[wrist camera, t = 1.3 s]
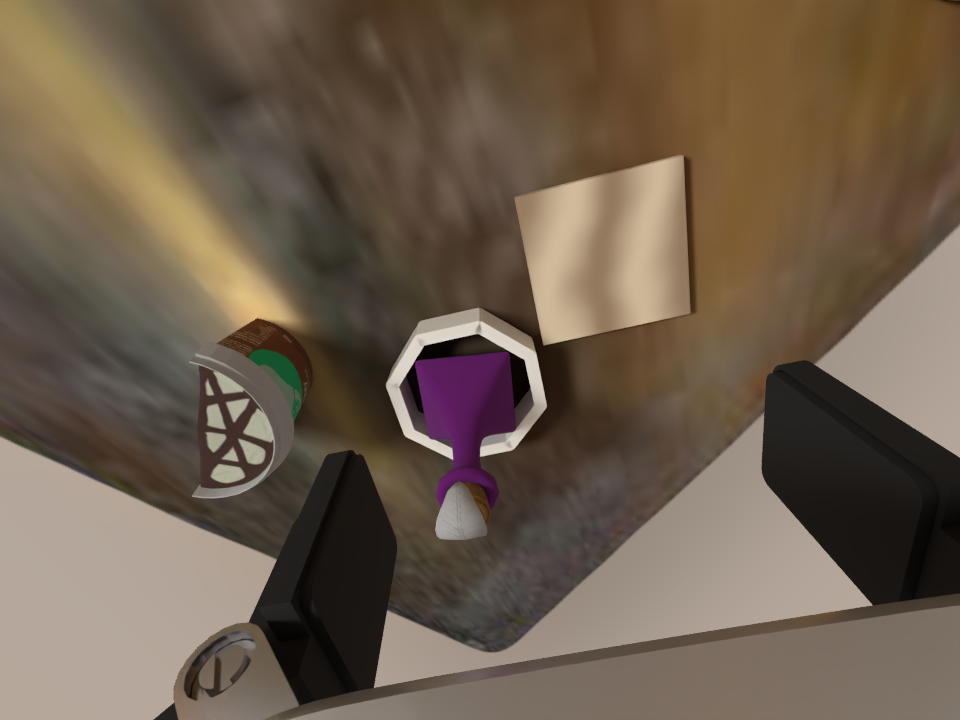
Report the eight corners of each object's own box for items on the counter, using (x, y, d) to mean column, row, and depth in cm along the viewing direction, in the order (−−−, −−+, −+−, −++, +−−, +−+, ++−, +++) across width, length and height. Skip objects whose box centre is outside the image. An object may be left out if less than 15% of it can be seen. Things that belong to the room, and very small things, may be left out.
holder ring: (523, 297, 38) (527, 309, 35) (549, 422, 43) (554, 442, 40) (378, 330, 39) (370, 345, 36) (420, 448, 44) (416, 469, 42)
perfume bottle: (513, 410, 42) (535, 581, 26) (432, 418, 43) (404, 591, 27) (506, 335, 39) (527, 477, 23) (419, 344, 40) (378, 490, 23)
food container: (318, 438, 44) (277, 517, 35) (251, 425, 43) (191, 502, 34) (334, 319, 38) (290, 375, 30) (257, 301, 38) (189, 353, 29)
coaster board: (679, 155, 33) (683, 155, 32) (686, 310, 38) (690, 313, 38) (514, 196, 34) (514, 197, 34) (542, 341, 39) (543, 345, 39)
